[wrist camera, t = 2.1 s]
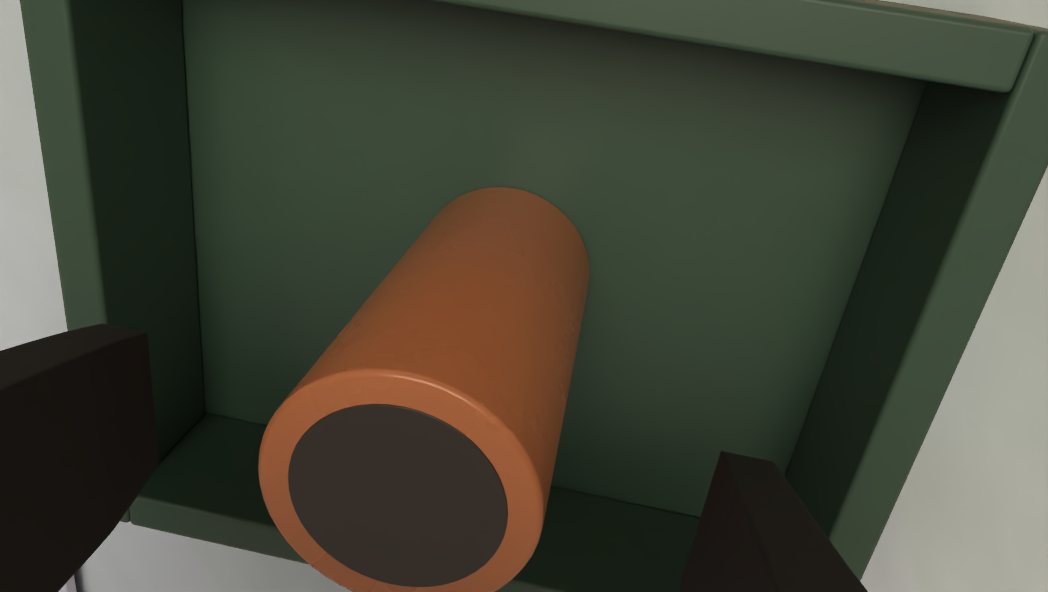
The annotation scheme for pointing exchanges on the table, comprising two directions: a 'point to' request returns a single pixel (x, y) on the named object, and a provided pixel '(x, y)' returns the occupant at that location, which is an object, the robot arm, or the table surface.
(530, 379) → the tube
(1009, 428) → the table surface
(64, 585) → the robot arm
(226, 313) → the basket
